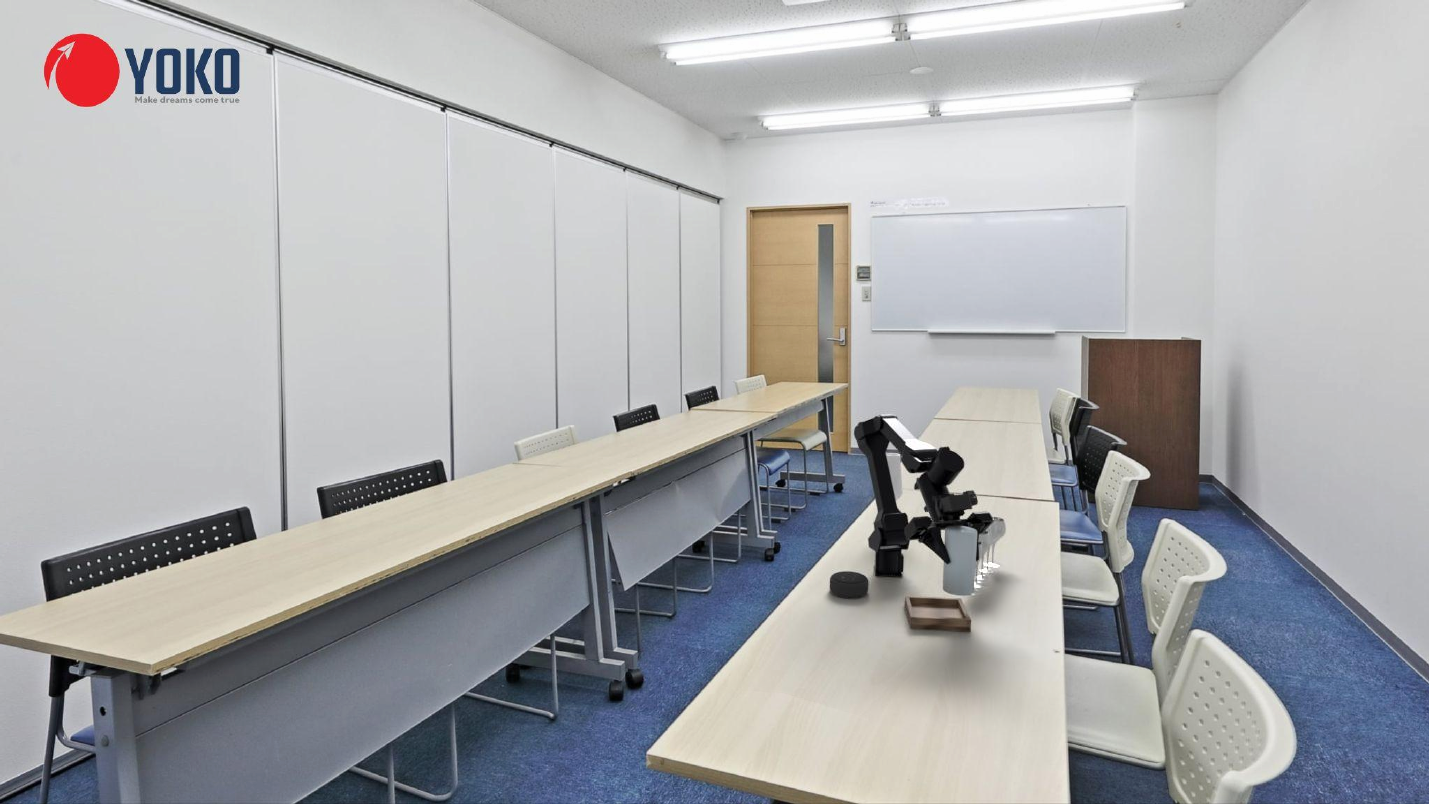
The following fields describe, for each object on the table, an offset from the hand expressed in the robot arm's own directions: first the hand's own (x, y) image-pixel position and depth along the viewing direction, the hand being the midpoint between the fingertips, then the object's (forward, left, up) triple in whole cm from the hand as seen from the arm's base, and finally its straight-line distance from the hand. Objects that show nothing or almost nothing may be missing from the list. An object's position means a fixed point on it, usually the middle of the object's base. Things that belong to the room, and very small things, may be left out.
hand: (963, 561), depth 161 cm
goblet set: (+10, +30, -14) cm, 34 cm away
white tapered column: (-10, +62, -13) cm, 64 cm away
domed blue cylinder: (-1, +1, -7) cm, 7 cm away
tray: (-5, +2, -13) cm, 14 cm away
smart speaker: (-23, +15, -14) cm, 30 cm away
